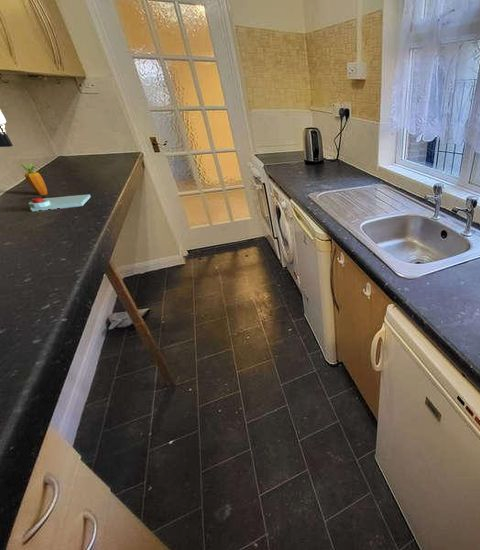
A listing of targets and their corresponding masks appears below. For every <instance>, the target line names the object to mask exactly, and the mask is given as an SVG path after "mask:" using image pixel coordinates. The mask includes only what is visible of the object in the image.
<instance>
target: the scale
mask: <svg viewBox="0 0 480 550" xmlns="http://www.w3.org/2000/svg"><path fill="white" fill-rule="evenodd" d="M91 197H92V196H91V194H79V195H67V196H55V197H47V198H42V199H43V201H44V202H40V203H33V201H32V200H31V201H29V202H27V204H28V206H29V207H30V208H29V209H30V211H31V212H40V211H39V210H42V211H49V210H48V209H51V210H57V208H60V209H69V208H77V207H83V206H84V205H85V204H86V203H87V202H88V201H89V199H91Z"/></svg>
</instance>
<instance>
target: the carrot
mask: <svg viewBox="0 0 480 550" xmlns="http://www.w3.org/2000/svg"><path fill="white" fill-rule="evenodd" d="M21 166H22V168H24V170H25V171H26V173H25V174H24V177H25V179H26V181H27V183H28V184H29V185H30V188H31V189H33V190H34V191H35V193H36V194H38V196H41V197H40V198H42V199H44V198H48V189H47V186H46V183H45V180H44V179H43V177H42V175H41V173H39V172H37V171H34V170H35V169H34V168H36V166H35V165H33V164H32V163H30V164H29V167H28V166H26V165H25V164H24V163H22V164H21Z"/></svg>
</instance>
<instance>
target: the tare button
mask: <svg viewBox="0 0 480 550" xmlns="http://www.w3.org/2000/svg"><path fill="white" fill-rule="evenodd" d="M43 199H44V198H43V197H35V198H32V199H31V201H33V203H40V202H44V201H43Z"/></svg>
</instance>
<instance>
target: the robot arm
mask: <svg viewBox="0 0 480 550" xmlns="http://www.w3.org/2000/svg"><path fill="white" fill-rule="evenodd" d="M6 123H7V119H6V117H5V115H4V114H3V111H2V109H0V148H10V147H13V146H14V144H13V143H12V141H11V140H10V137H9V136H8V134H7V131H6V129H5V128H6V125H5V124H6Z"/></svg>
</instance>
